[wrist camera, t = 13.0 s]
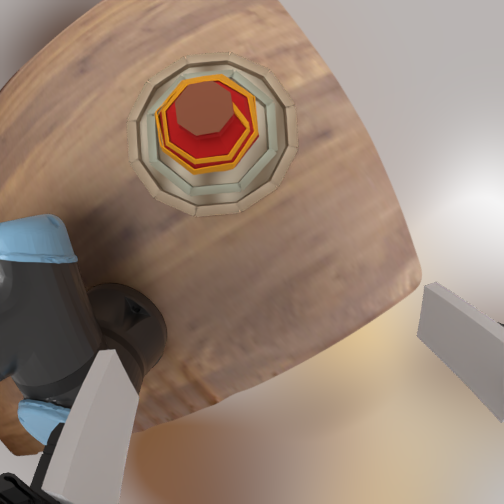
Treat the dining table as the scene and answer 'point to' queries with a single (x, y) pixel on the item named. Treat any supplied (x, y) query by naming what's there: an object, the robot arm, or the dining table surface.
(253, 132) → the potion bottle
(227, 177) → the tray
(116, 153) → the dining table surface
